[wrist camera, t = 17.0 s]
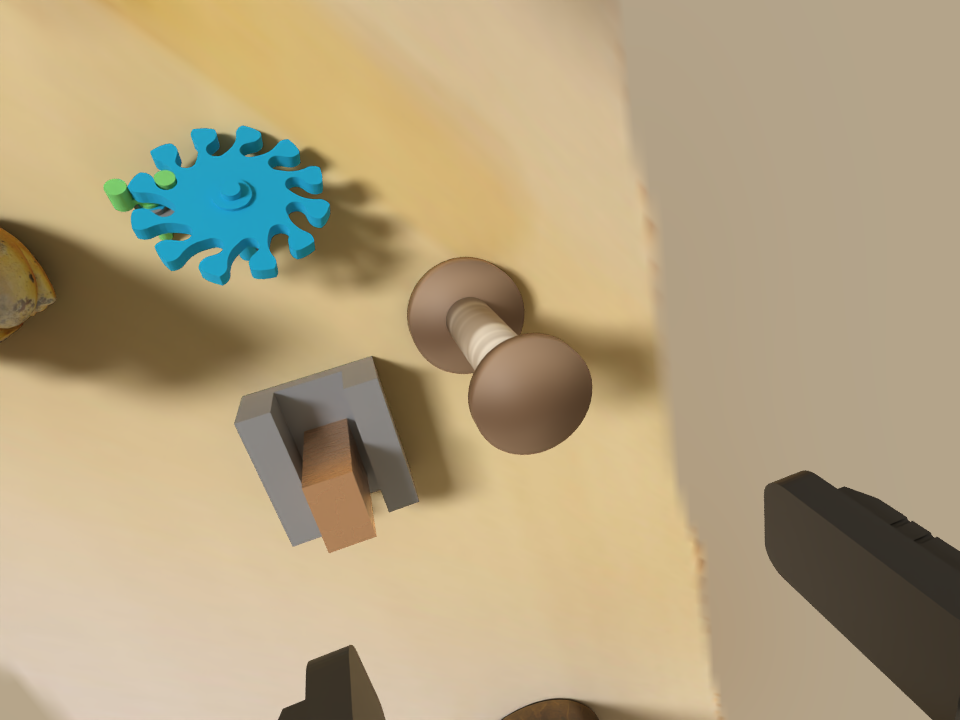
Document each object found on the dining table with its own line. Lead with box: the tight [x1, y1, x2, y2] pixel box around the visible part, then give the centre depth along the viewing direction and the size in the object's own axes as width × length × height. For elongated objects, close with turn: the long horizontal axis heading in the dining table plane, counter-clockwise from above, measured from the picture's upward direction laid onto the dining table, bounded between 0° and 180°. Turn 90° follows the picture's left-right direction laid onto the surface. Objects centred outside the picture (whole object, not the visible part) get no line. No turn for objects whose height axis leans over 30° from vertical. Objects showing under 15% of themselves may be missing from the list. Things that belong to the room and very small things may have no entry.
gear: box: [104, 126, 330, 285], centre depth 32 cm, size 11×6×10 cm
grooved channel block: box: [234, 356, 419, 546], centre depth 39 cm, size 10×9×4 cm
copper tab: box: [302, 418, 376, 553], centre depth 37 cm, size 5×3×7 cm, turn 12°
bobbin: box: [407, 257, 592, 455], centre depth 33 cm, size 8×8×14 cm
